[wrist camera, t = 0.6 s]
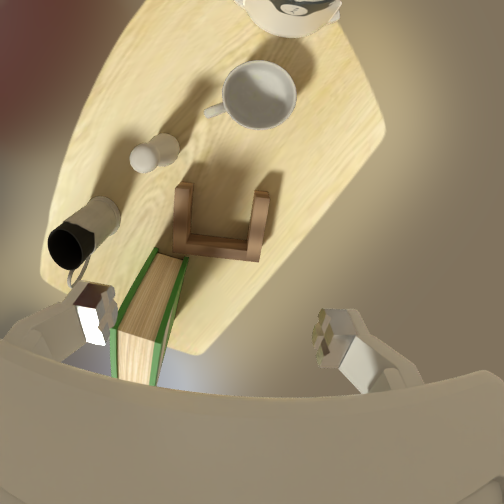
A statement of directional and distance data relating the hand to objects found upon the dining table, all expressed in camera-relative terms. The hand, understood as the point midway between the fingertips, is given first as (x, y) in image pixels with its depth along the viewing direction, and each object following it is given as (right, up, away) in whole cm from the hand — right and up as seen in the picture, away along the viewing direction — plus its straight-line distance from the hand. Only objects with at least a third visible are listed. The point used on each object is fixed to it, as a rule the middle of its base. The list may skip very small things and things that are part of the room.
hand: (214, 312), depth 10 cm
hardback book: (-18, -5, +48) cm, 51 cm away
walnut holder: (-4, +9, +41) cm, 42 cm away
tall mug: (-30, +7, +41) cm, 51 cm away
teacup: (+1, +28, +32) cm, 42 cm away
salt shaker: (-14, +21, +35) cm, 43 cm away
